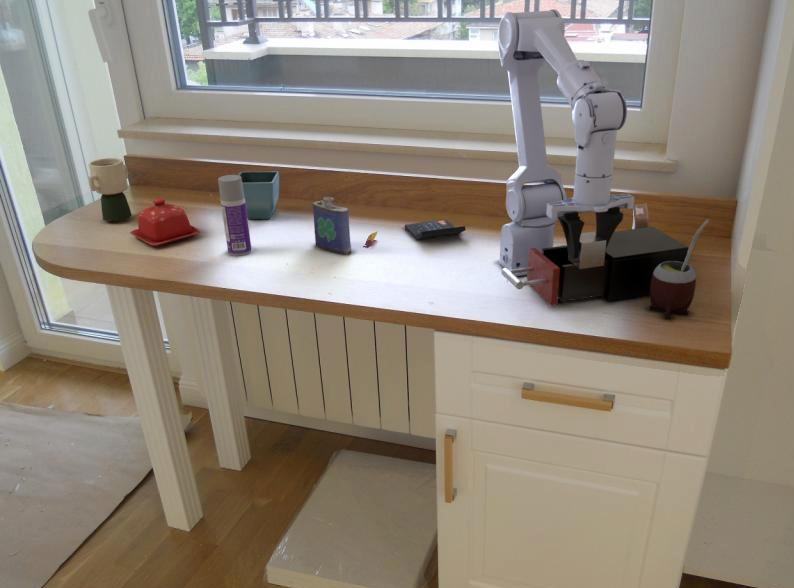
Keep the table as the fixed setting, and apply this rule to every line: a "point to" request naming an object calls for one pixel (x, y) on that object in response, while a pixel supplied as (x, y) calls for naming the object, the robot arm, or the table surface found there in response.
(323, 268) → the table surface
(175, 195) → the table surface
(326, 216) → the flask
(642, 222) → the tin
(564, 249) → the drawer
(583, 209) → the robot arm
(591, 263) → the steel block
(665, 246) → the black storage chest
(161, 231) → the butter dish
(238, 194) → the container
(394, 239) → the table surface
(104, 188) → the character mug
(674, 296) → the mate gourd
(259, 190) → the flower pot
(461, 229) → the calculator
